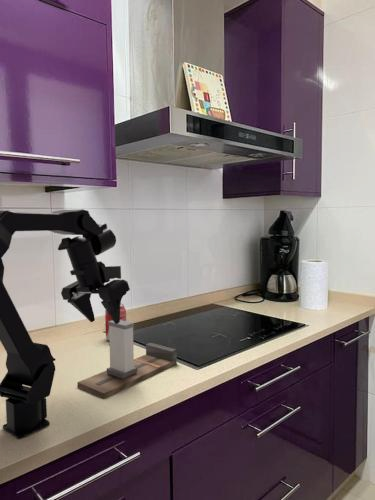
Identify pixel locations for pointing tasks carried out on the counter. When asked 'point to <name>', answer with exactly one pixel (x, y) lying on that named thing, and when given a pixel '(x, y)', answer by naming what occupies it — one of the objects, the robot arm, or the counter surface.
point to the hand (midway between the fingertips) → (104, 322)
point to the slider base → (146, 367)
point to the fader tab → (121, 349)
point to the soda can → (108, 318)
